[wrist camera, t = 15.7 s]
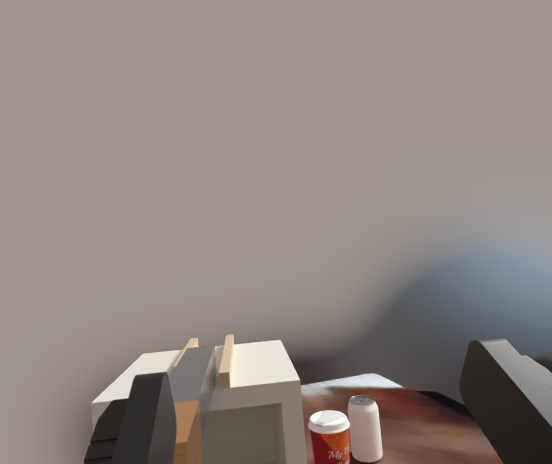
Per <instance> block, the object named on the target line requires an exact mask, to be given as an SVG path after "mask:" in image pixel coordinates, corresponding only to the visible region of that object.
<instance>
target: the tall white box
mask: <svg viewBox="0 0 552 464" xmlns="http://www.w3.org/2000/svg"><path fill="white" fill-rule="evenodd" d="M193 347H198V338H192V339H190V341H189V342H188V344H187V345H186V347H185V348H184V350H177V351H166V352H157V353H147V354H143V355H142V356H140V357H139V358H138V359H137V360H136V361H135V362H134V363H133V364H132V365H131V366H130V367H129V368H128V369H127V370H126V371H125V372H124V373H123V374H122V375H121V376H119V377H118V378H117V379H116V380H115V381H114V382H113V383H112V384H111V385H110V386H109V387H108V388H107V389H106V390H105V391H104V392H102V393H101V394H100V395H99V397H97V398H96V399H95V400H94V401H93V402H92V403H91V407H92V425H93V426H92V427H93V432H94V429H95V426H96V423H97V420H98V418H99V417H100V416H101V415H102V413H103V412H104V411H105V409H106V408H107V407H108V406H109V404H110V403H111V402H112V400H117V399H126V398H128V397H129V393H130V390H131V386H132V382H133V379H134V377H135V375H139V374H149V373H158V372H167V374H168V377H170V375H171V373H172V372H173V370H174V369H175V367H176V365H177V364H178V362H179V361H180V359H181V357H182V356H183V354H184V353H185V351H186V349H187V348H193ZM215 355H216V369H217V374H216V379H215V383H214V388H213V392H212V397H211V401H210V406H209V410H208V415H207V420H206V424H205V429H204V433H203V438H202V448H203V456H202V461H201V464H307V458H306V446H305V434H304V422H303V410H302V398H301V386H300V379H299V377H298V375H297V373H296V371H295V369H294V367H293V365H292V363H291V361H290V359H289V357H288V355H287V353H286V351H285V348H284V346H283V344H282V342H281V341H280V340H275V341H265V342H257V343H247V344H236V345H234V338H233V335H226V340H225V345H224V346H217V347H215Z"/></svg>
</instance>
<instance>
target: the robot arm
mask: <svg viewBox="0 0 552 464" xmlns="http://www.w3.org/2000/svg"><path fill="white" fill-rule="evenodd" d="M460 391H461V396H462V398H463V401H464V403H465V405H466V407H467V408H468V410H469V411H470V413H471V414H472V416H473V418H474V419H475V421H476V422H477V424H478V425H479V427H480V428H481V430H482V431H483V433H484V434H485V436H486V437H487V439H488V440H489V442H490V443H491V445H492V446H493V448H494V449H495V451H496V452H497V454H498V456H499V457H500V459H501V460H502V462H503V463H504V464H552V352H550V353H546V354H543V355H540V356H537V357H535V358H533V359H531V358H529V357H528V356H526V355H524V356H521V355H520V354H519V353H518V352H517V351H516V350H515V349H514V348H513V347H512V346H511V345H510V343H509V342H508V341H506V340H505V339H503V338H490V339H480V340H473V341H471V342H470V344H469V346H468V350H467V355H466V358H465V363H464V366H463V370H462V375H461V379H460ZM176 432H177V424H176V413H175V407H174V402H173V397H172V392H171V387H170V382H169V377H168V374H167V372H158V373H149V374H139V375H135V377H134V379H133V382H132V386H131V390H130V393H129V397H128V398H126V399H117V400H112V402H111V403H110V404H109V406H108V407H107V408H106V409H105V411H104V412H103V413H102V415H101V416H100V417H99V418H98V420H97V423H96V426H95V429H94V432H93V435H92V438H91V444H90V446H89V447H88V450H87V453H86V456H85V459H84V464H173V461H174V452H175V444H176Z"/></svg>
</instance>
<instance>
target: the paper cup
mask: <svg viewBox="0 0 552 464" xmlns="http://www.w3.org/2000/svg"><path fill="white" fill-rule="evenodd" d="M349 426H350V423H349V421H348V420H347V417H346V415H345V414H343V413H341V412H338V411H320V412H317V413H315V414H313V415H312V416H311V417H310V422H309V424H308V427H309V429H310V431H311V438H312V445H313V452H314V460H315V464H349V436H348V428H349Z"/></svg>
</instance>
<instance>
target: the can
mask: <svg viewBox="0 0 552 464" xmlns="http://www.w3.org/2000/svg"><path fill="white" fill-rule="evenodd" d="M349 401H350V402H349V405H348V415H349V423H350V437H351V447H352V455H353V457H354V458H355V459H356V460H357V461H359V462H362V463H374V462H377V461H379V460H380V459H381V458H382V443H381V432H380V422H379V412H378V406H377V404H376V402H375V398H374V397H372V396H368V395H357V396H353V397H351V398H350V399H349Z"/></svg>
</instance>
